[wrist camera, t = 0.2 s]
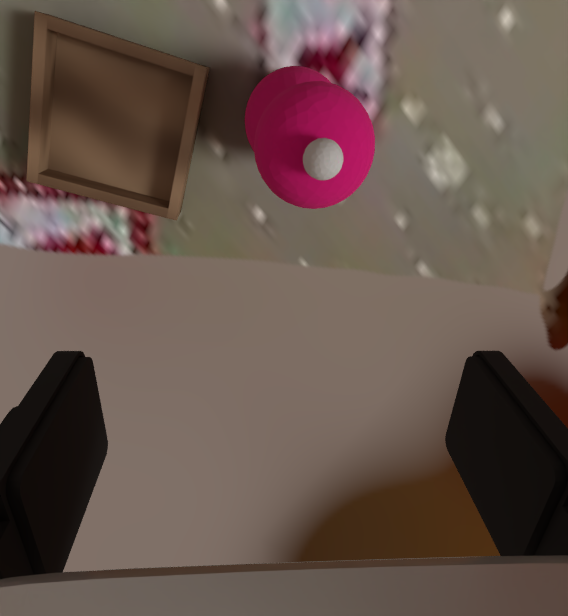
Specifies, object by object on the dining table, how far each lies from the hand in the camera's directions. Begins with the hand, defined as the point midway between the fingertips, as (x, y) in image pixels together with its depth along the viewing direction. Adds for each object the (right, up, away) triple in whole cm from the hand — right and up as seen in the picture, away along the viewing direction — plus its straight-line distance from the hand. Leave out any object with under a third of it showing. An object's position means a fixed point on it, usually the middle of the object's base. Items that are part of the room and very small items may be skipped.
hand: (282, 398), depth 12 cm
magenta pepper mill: (+1, +18, +26) cm, 31 cm away
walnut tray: (-13, +17, +25) cm, 33 cm away
